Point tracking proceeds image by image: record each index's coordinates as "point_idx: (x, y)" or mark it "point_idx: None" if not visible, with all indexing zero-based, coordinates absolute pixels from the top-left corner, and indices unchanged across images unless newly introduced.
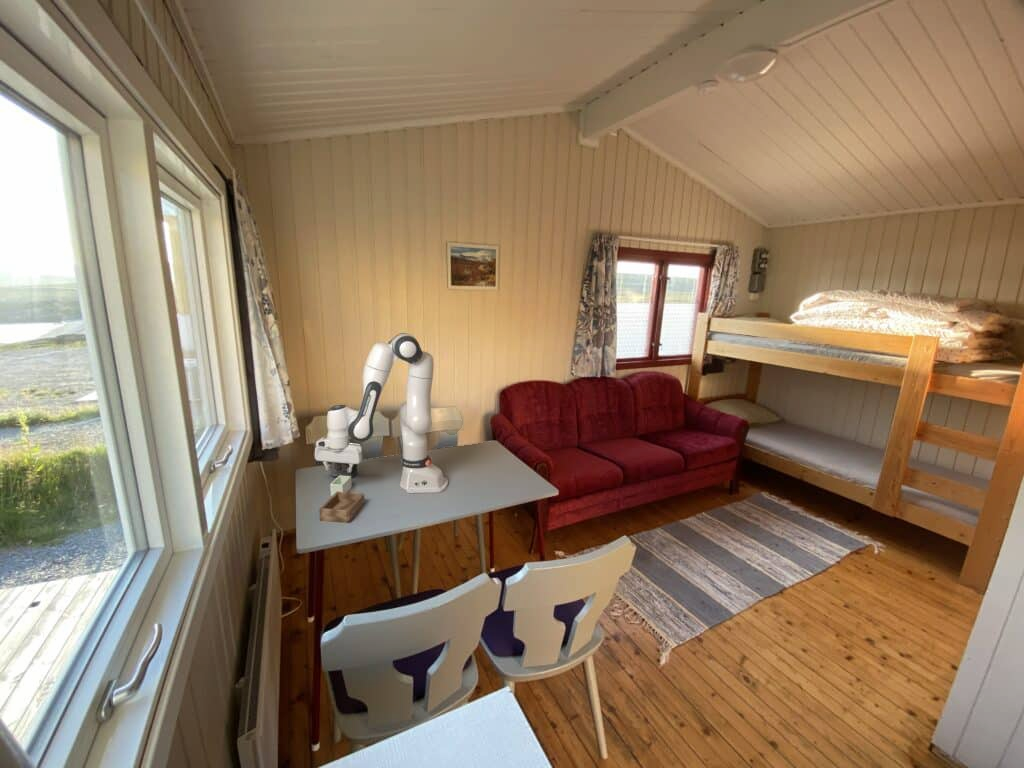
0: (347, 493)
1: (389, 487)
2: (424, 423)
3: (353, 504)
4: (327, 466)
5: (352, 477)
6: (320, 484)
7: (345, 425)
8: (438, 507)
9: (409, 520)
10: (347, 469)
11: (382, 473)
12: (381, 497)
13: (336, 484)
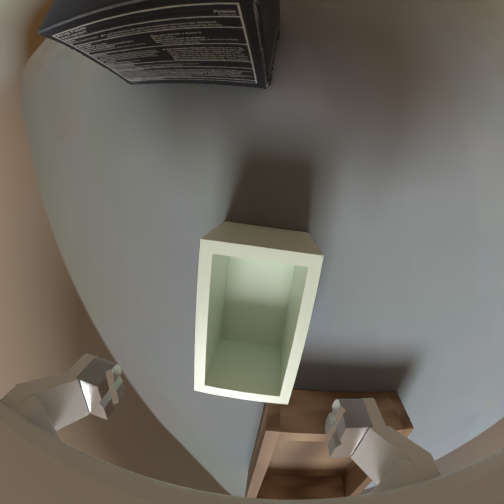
0: None
1: (495, 225)
2: None
3: (364, 484)
4: (85, 412)
5: (270, 83)
6: (100, 188)
7: None
8: None
9: (487, 425)
10: (335, 452)
11: (427, 41)
12: (463, 330)
13: (241, 396)
